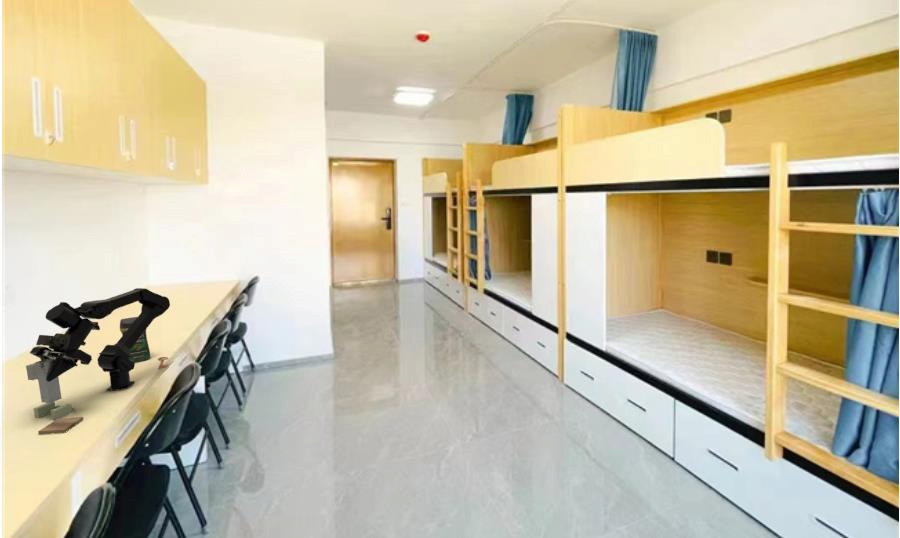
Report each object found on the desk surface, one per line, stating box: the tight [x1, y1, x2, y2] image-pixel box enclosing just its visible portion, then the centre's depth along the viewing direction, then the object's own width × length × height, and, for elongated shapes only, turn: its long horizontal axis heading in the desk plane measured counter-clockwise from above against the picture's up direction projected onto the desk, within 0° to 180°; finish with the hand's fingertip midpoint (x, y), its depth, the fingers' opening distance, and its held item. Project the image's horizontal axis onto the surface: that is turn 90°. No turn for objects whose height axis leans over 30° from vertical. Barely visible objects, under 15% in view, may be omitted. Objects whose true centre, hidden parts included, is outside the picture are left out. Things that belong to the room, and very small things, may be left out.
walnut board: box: [37, 416, 85, 435], centre depth 135 cm, size 8×7×1 cm
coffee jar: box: [119, 316, 151, 363], centre depth 192 cm, size 10×8×19 cm
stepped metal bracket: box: [25, 359, 62, 404], centre depth 140 cm, size 6×3×13 cm, turn 166°
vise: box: [33, 401, 75, 421], centre depth 144 cm, size 6×9×3 cm
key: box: [157, 356, 169, 370], centre depth 189 cm, size 6×1×15 cm
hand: (43, 380), depth 140 cm, fingers closed on stepped metal bracket, 3 cm apart
